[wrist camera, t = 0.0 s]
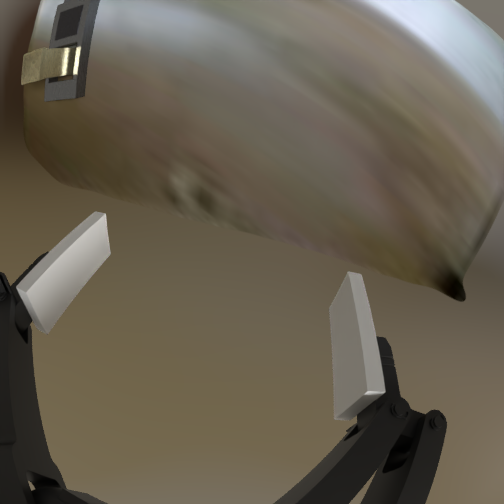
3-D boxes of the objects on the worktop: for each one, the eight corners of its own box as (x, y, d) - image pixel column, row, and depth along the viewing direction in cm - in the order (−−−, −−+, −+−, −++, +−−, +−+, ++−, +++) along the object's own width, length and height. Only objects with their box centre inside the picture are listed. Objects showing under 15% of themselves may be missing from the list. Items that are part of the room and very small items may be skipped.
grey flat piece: (66, 6, 23) (57, 5, 21) (101, -5, 23) (92, -7, 20) (53, 99, 34) (44, 101, 32) (84, 96, 34) (75, 98, 32)
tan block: (63, 51, 29) (24, 54, 20) (83, 46, 29) (42, 47, 20) (60, 77, 32) (21, 84, 24) (79, 74, 32) (38, 80, 23)
